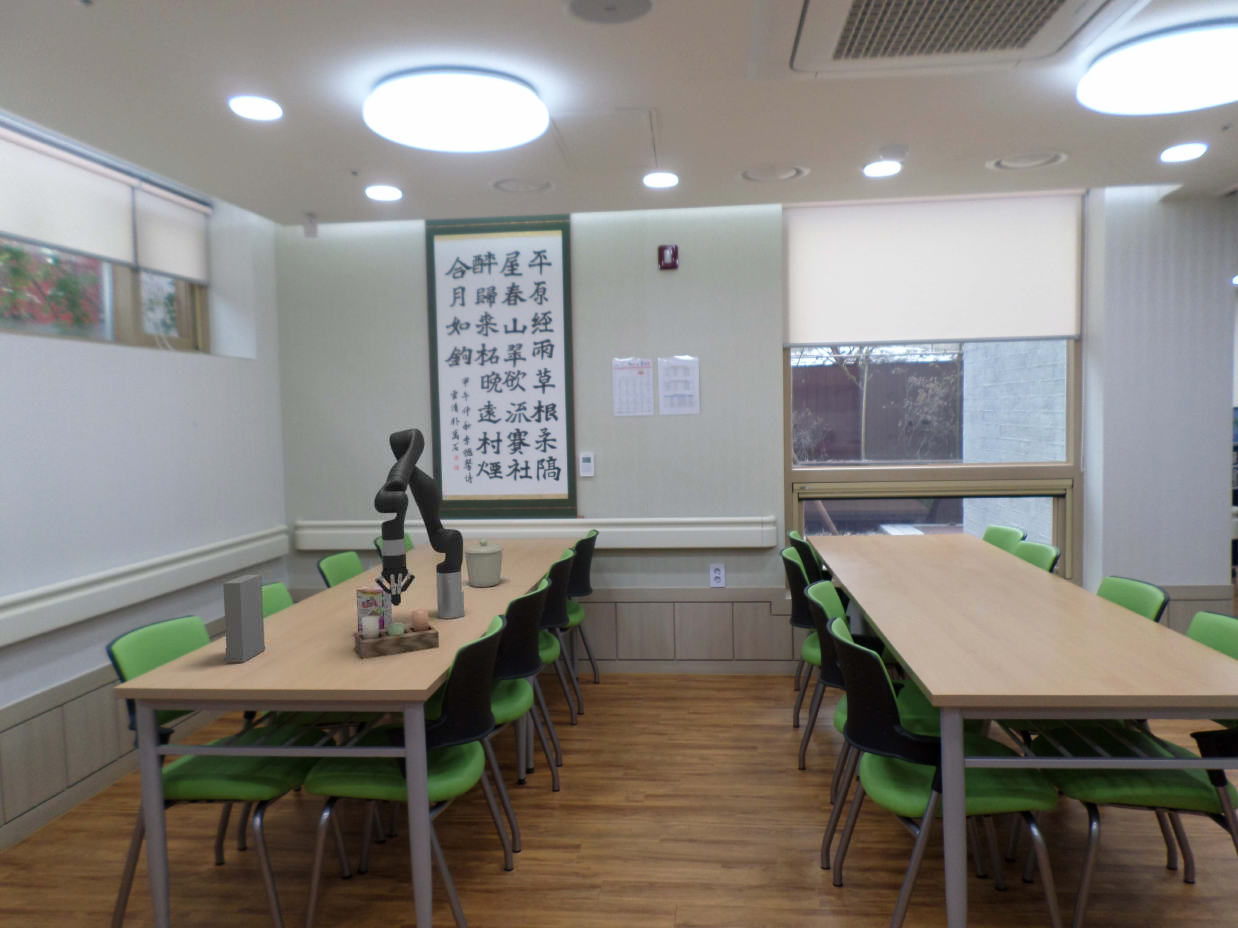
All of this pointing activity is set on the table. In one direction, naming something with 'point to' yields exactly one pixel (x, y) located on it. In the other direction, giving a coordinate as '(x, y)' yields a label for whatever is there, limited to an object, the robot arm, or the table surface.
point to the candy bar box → (374, 606)
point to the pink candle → (420, 620)
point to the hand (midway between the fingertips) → (396, 605)
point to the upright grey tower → (243, 618)
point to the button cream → (370, 627)
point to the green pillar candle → (395, 629)
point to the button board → (396, 642)
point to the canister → (484, 564)
